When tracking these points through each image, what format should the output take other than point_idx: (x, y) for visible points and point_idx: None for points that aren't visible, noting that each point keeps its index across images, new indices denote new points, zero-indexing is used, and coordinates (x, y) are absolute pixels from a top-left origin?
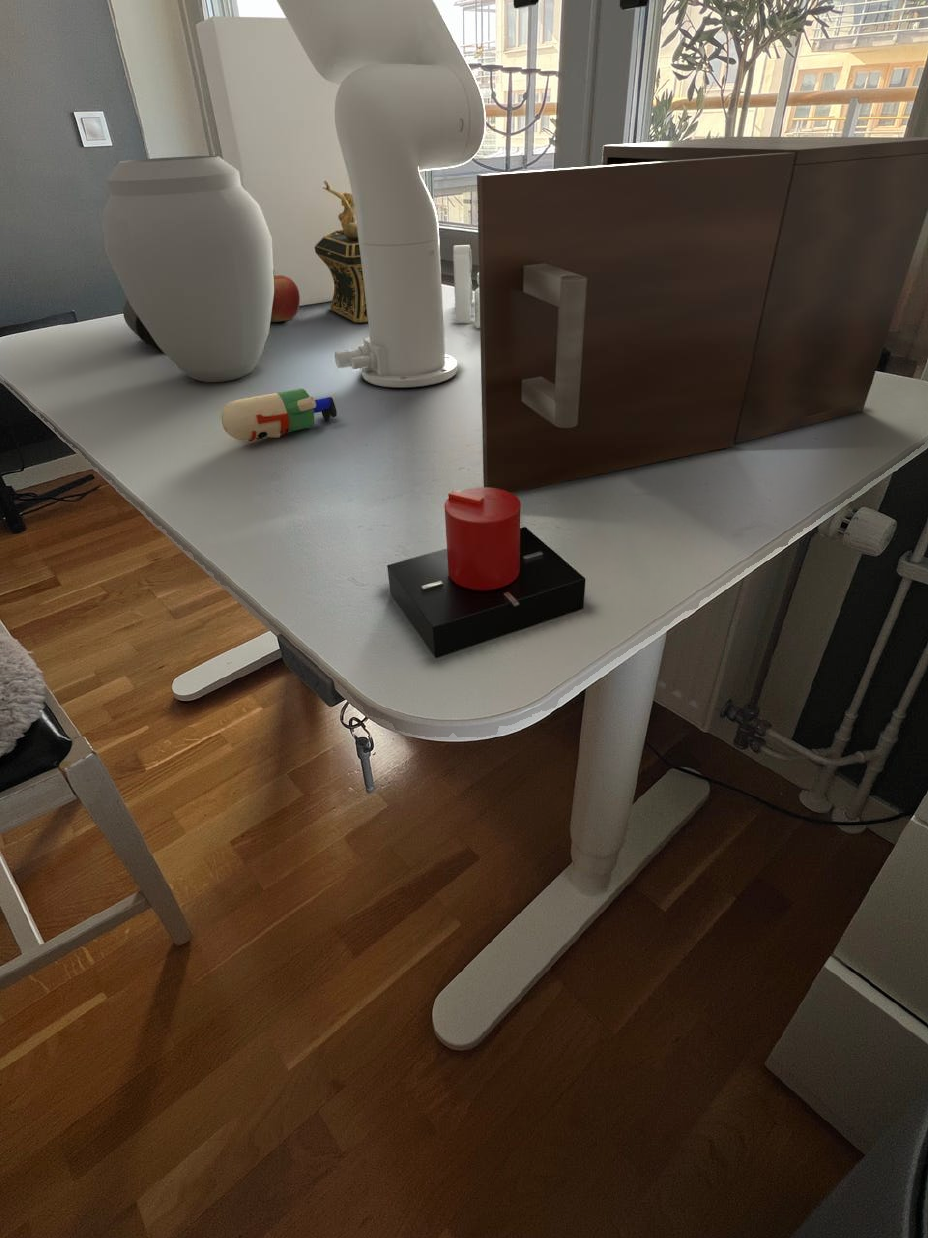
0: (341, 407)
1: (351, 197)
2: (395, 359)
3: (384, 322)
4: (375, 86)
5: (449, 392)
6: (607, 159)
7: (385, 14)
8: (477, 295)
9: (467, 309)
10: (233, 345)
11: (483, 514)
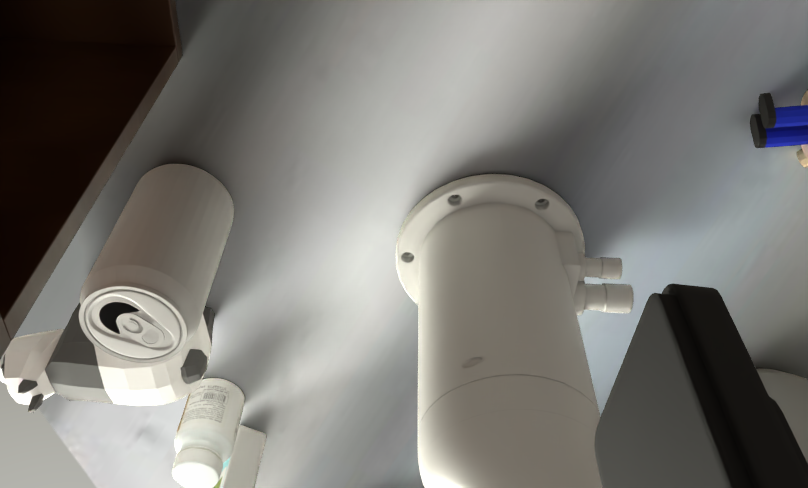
0: (691, 164)
1: None
2: (548, 239)
3: (568, 294)
4: None
5: (483, 125)
6: (5, 315)
7: None
8: (232, 441)
9: (240, 446)
10: (783, 389)
11: None
